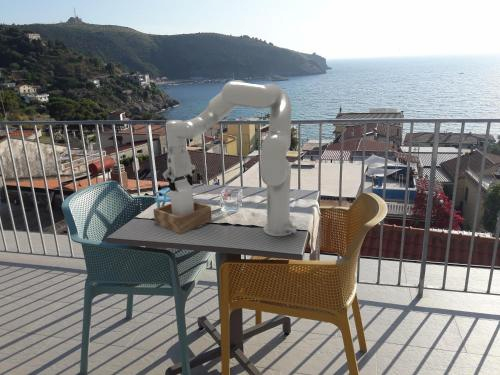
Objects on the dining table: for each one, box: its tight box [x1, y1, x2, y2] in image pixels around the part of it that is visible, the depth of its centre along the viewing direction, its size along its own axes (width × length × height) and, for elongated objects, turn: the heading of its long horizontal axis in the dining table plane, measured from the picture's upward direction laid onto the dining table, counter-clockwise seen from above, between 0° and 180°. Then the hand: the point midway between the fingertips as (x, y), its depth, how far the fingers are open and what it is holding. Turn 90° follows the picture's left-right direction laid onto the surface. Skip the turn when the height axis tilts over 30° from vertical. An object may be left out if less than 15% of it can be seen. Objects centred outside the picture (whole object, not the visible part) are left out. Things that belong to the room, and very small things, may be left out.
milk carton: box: [169, 178, 194, 217], centre depth 169 cm, size 7×7×19 cm
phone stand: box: [154, 187, 171, 208], centre depth 185 cm, size 8×8×12 cm
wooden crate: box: [153, 200, 213, 235], centre depth 172 cm, size 18×18×7 cm
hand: (181, 187), depth 168 cm, fingers open, 9 cm apart
